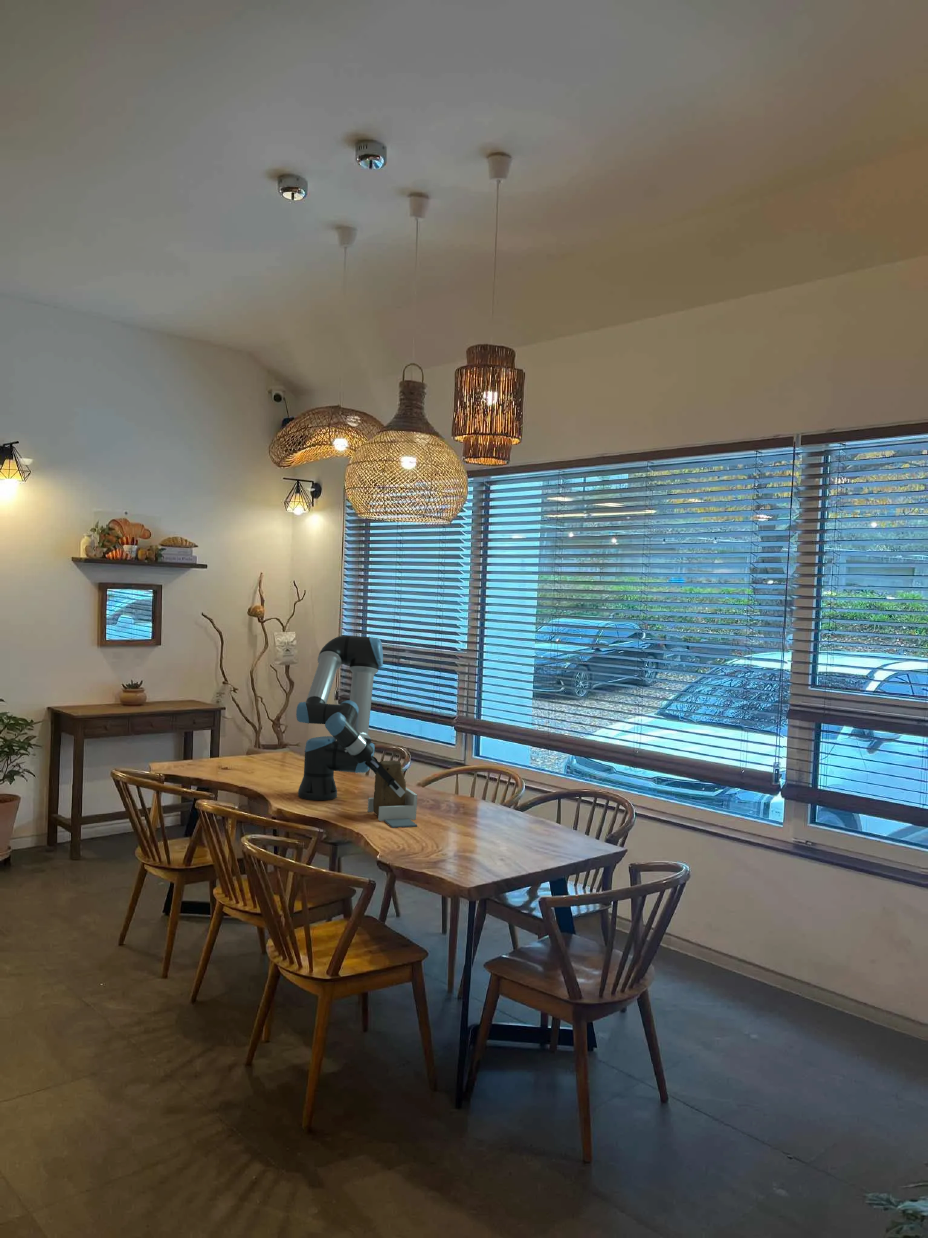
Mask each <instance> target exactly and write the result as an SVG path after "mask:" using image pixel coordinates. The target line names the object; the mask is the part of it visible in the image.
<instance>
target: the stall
mask: <svg viewBox="0 0 928 1238" xmlns="http://www.w3.org/2000/svg"><path fill="white" fill-rule="evenodd" d="M373 800H374V797H368V801H367V812H368V813H374V808H373ZM417 805H418V794H417V793H415V792H414V791H413V790H411V789H410V788H408V787H406V795H405V806H379V815H378V816H377V818H378V819H377V820H379V822H385V821H384V819H407V818H409V819H410V820H411V821H413V820H417V810H418V809H417V807H418V806H417Z"/></svg>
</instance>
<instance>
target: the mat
mask: <svg viewBox="0 0 928 1238" xmlns="http://www.w3.org/2000/svg"><path fill="white" fill-rule="evenodd" d="M383 822H384V823H386V824H387V825H388V824H389V825H388V826H389V827H391V829H394V828H395V829H396V828H398V827H402V828H416V827H418V824H417V823H416V822H414V821H413V820H410V819H409V818H407V819H384V821H383ZM398 829H399V828H398Z"/></svg>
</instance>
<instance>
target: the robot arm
mask: <svg viewBox="0 0 928 1238" xmlns="http://www.w3.org/2000/svg"><path fill="white" fill-rule="evenodd" d="M317 663H318V665H317V667H316V671H315V674H314V676H313V679H312V682H311V685H310V689H309V691H308V694H307V696H306V700H305V701H301V702H298V704H297V707H296V713H295V717H296V720H297V722H298V723H304V724H313V725H324V728H325V729H326V730H327V731H328V733H329V734H330V735H325V736H317V737H311V738H309V739H307V740H306V742H305V746H304V747H305V749H304V760H303V761H304V763H303V765H304V766H303V777H302V780H301V782H300V785H299V787H298V790H297V791H298V792H297V796H298V797H299V798H300V799H304V800H310V801H328V800H329V801H331V800H334V799H336V798H337V797H338V788H337V786H336V782H335V781H336V780H335V775H334V774H335V772H346V773H347V772H348V773H356V774H358V773H361V774H363V773H364V774H365V773H367V772H369V770H371V771H372V772H373V773H374V774H375V775H376V772H377V773H378V774H379V775H380V776H381V777H382V778H383V779H384V780H385V781H386V782H387V783H388V785H387V786H388V787H389V786H390V787H391V788H392V789H393V790H394V791H395V793H396V794H397V795H398V796H399V797H401V796H402V795H403V794H404V793H405V791H404V790H403V789H402V788H401V787H400V785H399V784H398V783H397V782H396V781H395V779H394V778H393V777H392V776H391V775H390V774H389V773H388V772H387V771H386V770H385V769H384V768H383V767H382V765H381V764H380V763H379V762H380V761H379V760H378V758H377V757H375V756H374V755H375V746H376V745H375V744H374V743H373V742H372V737H370V735H369V731H370V729H369V728H370V727H369V726H370V718H371V709H372V708H371V707H372V698H373V687H374V677H375V675H376V674H377V673H379V668H381V667H383V665H384V650H383V643H382V640H381V639H380V638H378V637H372V636H359V635H357V636H356V635H340V636H337V637H334V638H333V639H331V640H329V641H328V642H327V643H326V644H325V645H323V647H322V648H321V650H320V651H319V654H318V657H317ZM342 665H347V666H348V665H349V666H348V667H349V668H348V669H349V670H350V672H351V673H352V676H351V684H350V685H351V688H350V694H349V699H348V700H343V701H342V702H341V703H340V704H335V703H334V704H333V703H332V704H331V703H328V699H329V696H330V693H331V690H332V686H333V683H334V681H335V677H336V674H337V671H338V669H340V667H341V666H342Z"/></svg>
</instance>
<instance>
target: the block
mask: <svg viewBox="0 0 928 1238" xmlns="http://www.w3.org/2000/svg"><path fill="white" fill-rule="evenodd" d="M378 762H379V763H380V764H381V765H382V767H383V768H384V769H385V770H386V771H387V772H388V773H389V774H390V775H391V776H392V777H393V778H394V779H395V781H396V782H397V783H398V784H399V785H400V787H401V788H402V789H403V790H404V791H405V793H404V794H403V795H402V796H401V797H399V796H398V795H397V794H396V793H395V791H394V790H393V789H392V788H391V787H390V786H389V787H388V786H387V785H388V783H387V782H386V781H385V780H384V779H383V778H382V777H381V776H380V775H379V774H378V773H377V772H376V774H375V779H374V792H373V798H374V800H373V808H374V812H373V814H375V816H377V817H378V815H379V806H405V795H406V788H407V783H406V782H407V781H406V779H405V776H404V772H403V771H402V762H401V761H399V760H383V761H378Z"/></svg>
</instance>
